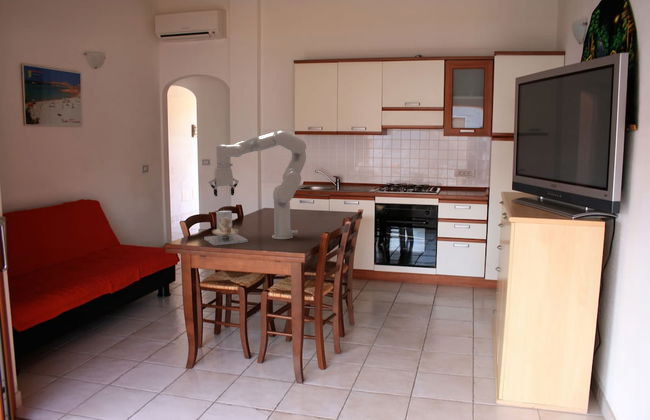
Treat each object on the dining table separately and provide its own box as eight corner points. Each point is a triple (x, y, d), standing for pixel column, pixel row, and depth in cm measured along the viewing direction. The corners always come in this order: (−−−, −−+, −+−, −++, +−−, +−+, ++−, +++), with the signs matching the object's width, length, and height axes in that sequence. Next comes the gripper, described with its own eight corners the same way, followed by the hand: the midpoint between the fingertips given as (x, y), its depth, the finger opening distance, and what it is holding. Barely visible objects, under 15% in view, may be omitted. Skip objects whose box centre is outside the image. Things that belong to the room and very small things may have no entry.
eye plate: (236, 236, 340) (236, 233, 340) (247, 242, 323) (247, 239, 323) (204, 239, 331) (204, 236, 331) (213, 245, 314) (213, 242, 314)
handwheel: (233, 234, 337) (233, 216, 335) (242, 238, 324) (241, 219, 322) (209, 236, 330) (208, 217, 328) (216, 241, 317) (216, 221, 315)
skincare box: (224, 236, 340) (223, 212, 338) (216, 235, 343) (215, 211, 341) (232, 234, 347) (232, 210, 345) (225, 233, 350) (224, 209, 348)
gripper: (236, 165, 328) (236, 194, 331) (206, 166, 321) (207, 195, 323) (240, 166, 322) (240, 195, 324) (210, 166, 314) (211, 197, 316)
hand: (224, 195), depth 324 cm, fingers open, 9 cm apart
